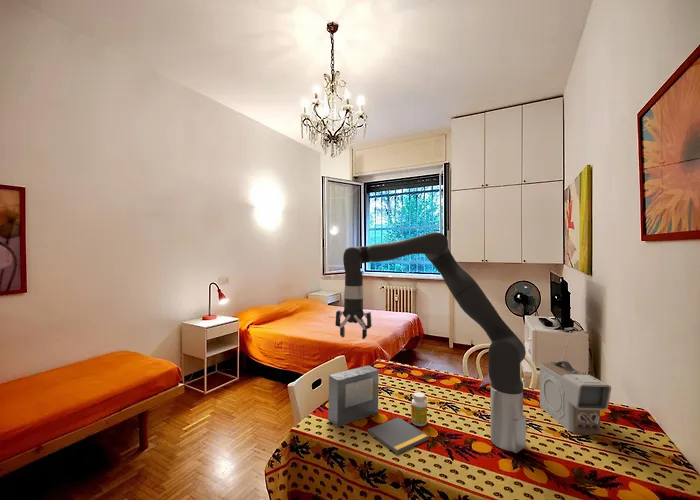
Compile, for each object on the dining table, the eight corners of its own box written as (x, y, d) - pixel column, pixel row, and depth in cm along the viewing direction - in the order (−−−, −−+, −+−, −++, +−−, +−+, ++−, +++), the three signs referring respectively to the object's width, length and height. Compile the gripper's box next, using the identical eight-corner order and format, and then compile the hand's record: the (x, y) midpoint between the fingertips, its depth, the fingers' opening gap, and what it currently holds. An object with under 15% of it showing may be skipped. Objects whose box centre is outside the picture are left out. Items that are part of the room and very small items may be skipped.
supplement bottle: (415, 427, 109) (415, 398, 109) (408, 419, 114) (408, 392, 114) (429, 425, 110) (429, 396, 110) (422, 417, 115) (422, 390, 115)
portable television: (578, 440, 102) (578, 347, 102) (537, 405, 126) (537, 329, 126) (616, 441, 102) (616, 347, 102) (567, 405, 125) (568, 330, 126)
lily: (509, 390, 142) (499, 368, 146) (515, 390, 131) (505, 366, 136) (482, 397, 143) (474, 375, 147) (487, 397, 133) (477, 373, 137)
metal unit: (378, 413, 118) (379, 370, 118) (337, 428, 108) (338, 380, 108) (367, 405, 124) (367, 364, 124) (327, 419, 113) (328, 374, 114)
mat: (428, 439, 102) (428, 435, 102) (396, 454, 94) (396, 450, 94) (398, 420, 113) (398, 417, 113) (367, 432, 105) (367, 428, 105)
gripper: (373, 296, 127) (372, 336, 127) (339, 295, 131) (339, 334, 131) (369, 299, 120) (368, 341, 120) (333, 297, 124) (333, 338, 124)
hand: (353, 337), depth 125 cm, fingers open, 8 cm apart
